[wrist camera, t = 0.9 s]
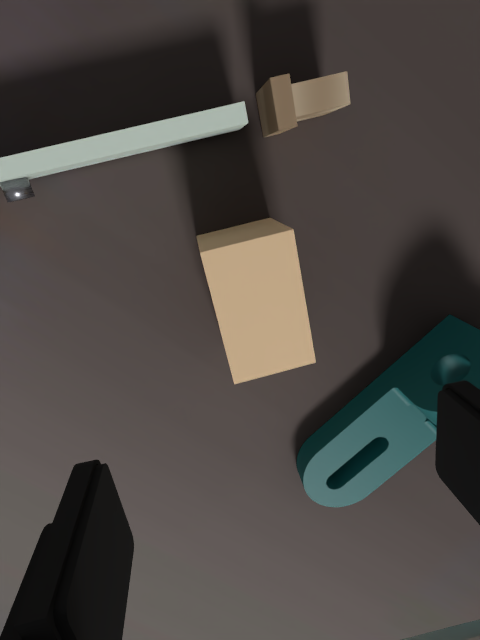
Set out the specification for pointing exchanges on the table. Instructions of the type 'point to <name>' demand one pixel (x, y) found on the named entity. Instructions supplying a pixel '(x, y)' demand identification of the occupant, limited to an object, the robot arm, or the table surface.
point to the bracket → (388, 418)
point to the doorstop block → (258, 297)
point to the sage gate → (115, 146)
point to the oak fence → (299, 100)
